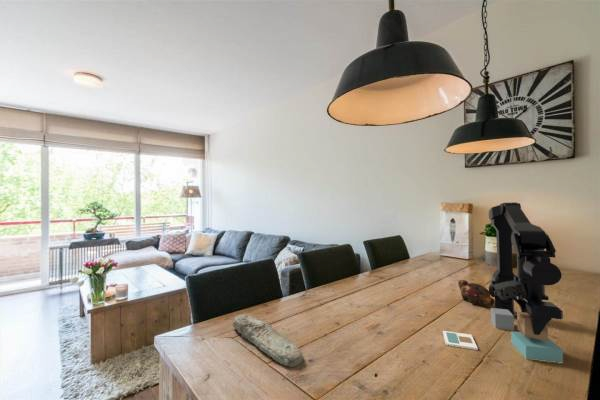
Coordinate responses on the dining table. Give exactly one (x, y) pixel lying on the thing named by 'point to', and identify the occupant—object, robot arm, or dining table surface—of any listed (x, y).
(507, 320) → the slate grey block
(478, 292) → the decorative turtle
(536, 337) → the walnut block
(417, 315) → the dining table surface
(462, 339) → the tile
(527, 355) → the teal base block
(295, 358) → the elongated rock
